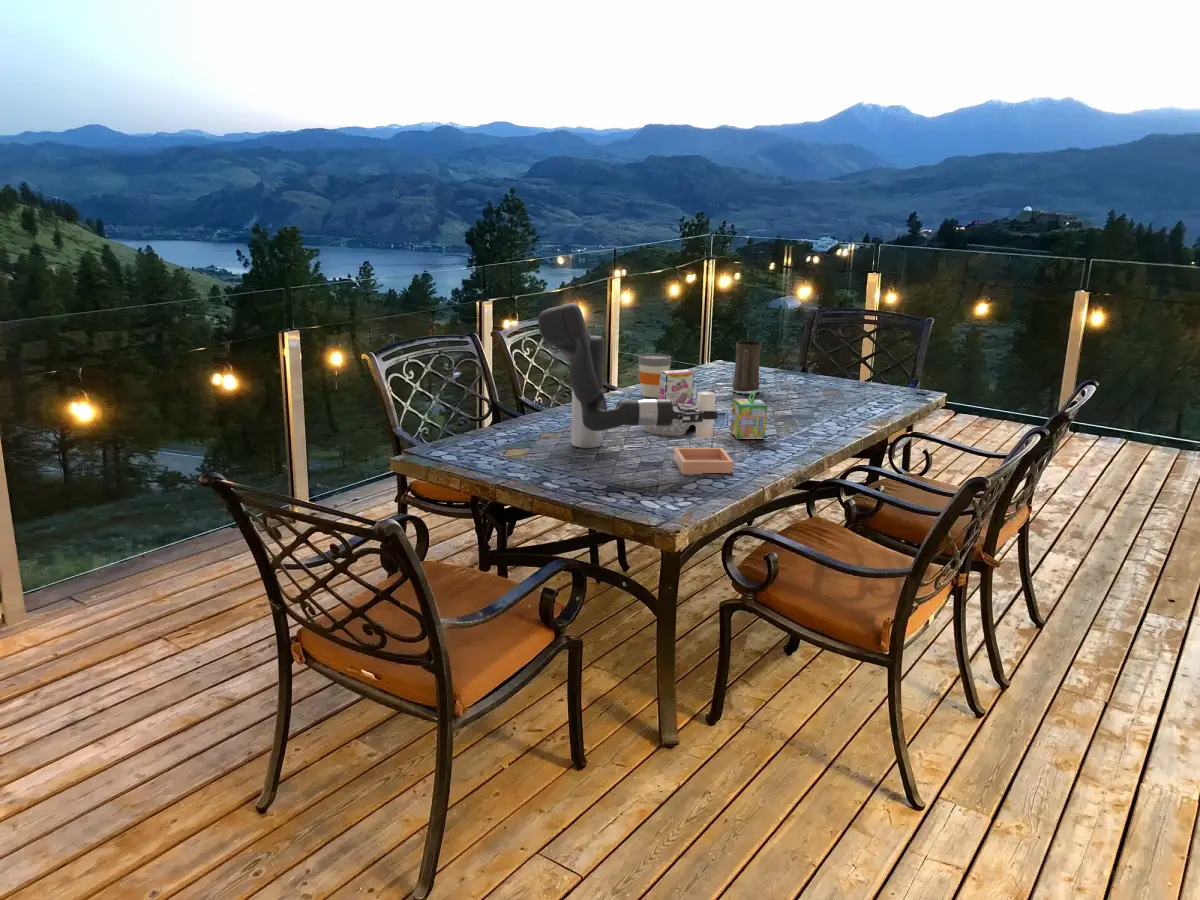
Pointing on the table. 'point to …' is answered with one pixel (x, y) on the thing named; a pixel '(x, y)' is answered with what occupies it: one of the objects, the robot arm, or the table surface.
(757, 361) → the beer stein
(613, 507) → the table surface
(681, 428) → the dog bowl
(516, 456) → the table surface
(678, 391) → the candy bar box
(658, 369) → the reusable coffee cup
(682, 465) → the terracotta tray
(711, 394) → the ceramic canister
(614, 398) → the table surface
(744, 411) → the chalk box
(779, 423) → the table surface
